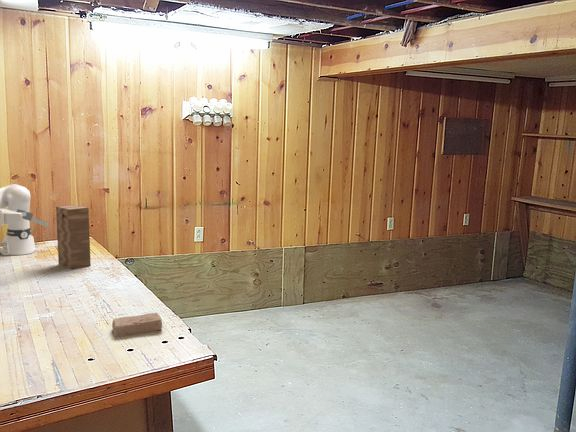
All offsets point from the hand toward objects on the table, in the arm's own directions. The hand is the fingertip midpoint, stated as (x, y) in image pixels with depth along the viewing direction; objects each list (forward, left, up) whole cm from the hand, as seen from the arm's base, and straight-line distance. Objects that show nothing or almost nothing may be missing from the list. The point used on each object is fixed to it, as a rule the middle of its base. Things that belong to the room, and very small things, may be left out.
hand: (22, 213), depth 249 cm
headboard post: (0, +25, -31) cm, 39 cm away
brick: (+100, -7, -31) cm, 104 cm away
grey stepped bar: (0, +4, -5) cm, 6 cm away
